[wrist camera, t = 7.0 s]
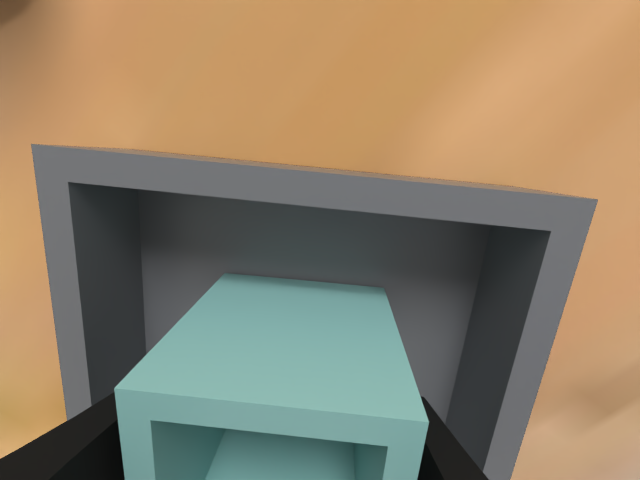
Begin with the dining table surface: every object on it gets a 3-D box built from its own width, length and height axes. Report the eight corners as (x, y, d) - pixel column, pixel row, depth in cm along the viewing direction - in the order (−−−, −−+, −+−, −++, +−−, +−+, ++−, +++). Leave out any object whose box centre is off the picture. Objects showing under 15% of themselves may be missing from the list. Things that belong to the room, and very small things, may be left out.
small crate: (383, 287, 11) (429, 421, 5) (365, 418, 12) (386, 627, 7) (224, 272, 11) (113, 388, 5) (225, 403, 12) (138, 595, 7)
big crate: (513, 186, 10) (597, 199, 7) (439, 489, 14) (472, 598, 10) (127, 148, 11) (31, 144, 7) (144, 452, 14) (83, 544, 11)
